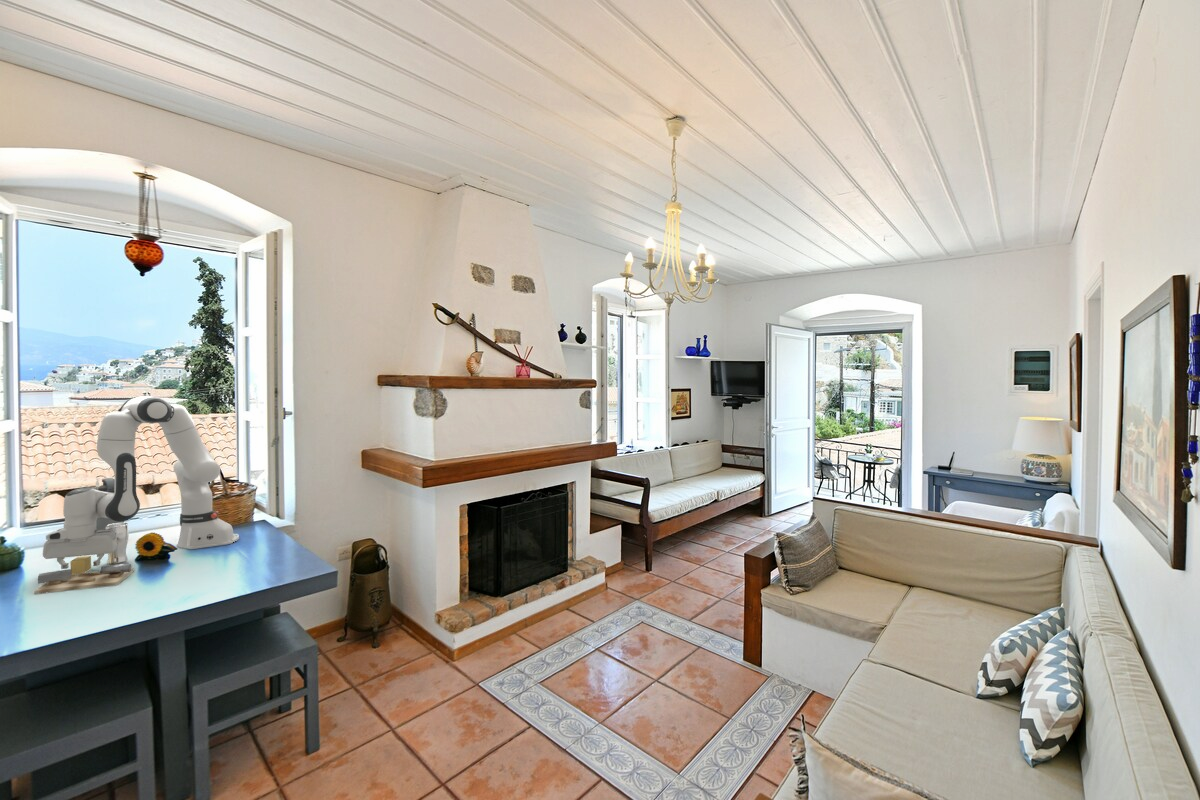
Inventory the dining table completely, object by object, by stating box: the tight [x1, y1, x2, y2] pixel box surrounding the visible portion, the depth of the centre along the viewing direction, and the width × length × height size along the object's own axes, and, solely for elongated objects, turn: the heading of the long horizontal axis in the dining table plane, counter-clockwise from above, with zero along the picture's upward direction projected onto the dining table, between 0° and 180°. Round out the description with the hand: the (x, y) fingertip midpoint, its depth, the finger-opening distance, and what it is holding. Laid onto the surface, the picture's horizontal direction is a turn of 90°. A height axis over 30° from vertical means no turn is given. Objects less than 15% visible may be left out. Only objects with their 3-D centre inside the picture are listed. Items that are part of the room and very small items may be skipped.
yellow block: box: [69, 555, 92, 574], centre depth 198 cm, size 5×4×5 cm
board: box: [33, 568, 134, 595], centre depth 188 cm, size 22×14×2 cm, turn 114°
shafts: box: [37, 563, 132, 585], centre depth 187 cm, size 24×5×3 cm, turn 114°
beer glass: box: [106, 522, 130, 565], centre depth 208 cm, size 7×7×15 cm
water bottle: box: [96, 477, 125, 530], centre depth 232 cm, size 10×10×28 cm
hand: (81, 566), depth 198 cm, fingers open, 8 cm apart
